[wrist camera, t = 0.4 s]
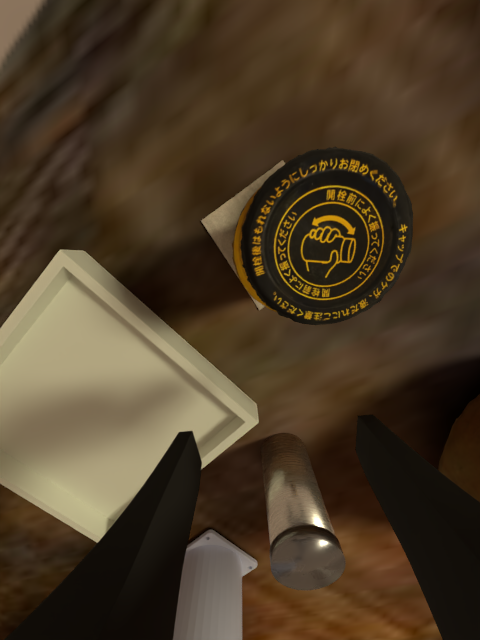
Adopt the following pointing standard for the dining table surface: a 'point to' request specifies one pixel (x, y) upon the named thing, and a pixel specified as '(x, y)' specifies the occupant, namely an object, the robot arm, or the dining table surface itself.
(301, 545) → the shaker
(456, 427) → the ceramic pitcher
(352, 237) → the condiment
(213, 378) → the tray
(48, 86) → the dining table surface
